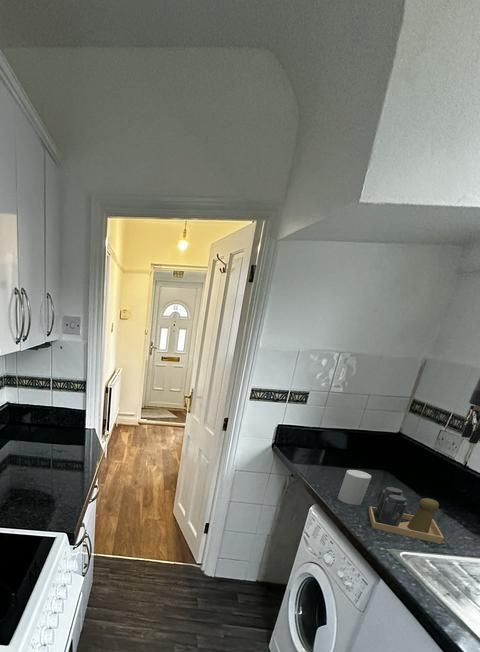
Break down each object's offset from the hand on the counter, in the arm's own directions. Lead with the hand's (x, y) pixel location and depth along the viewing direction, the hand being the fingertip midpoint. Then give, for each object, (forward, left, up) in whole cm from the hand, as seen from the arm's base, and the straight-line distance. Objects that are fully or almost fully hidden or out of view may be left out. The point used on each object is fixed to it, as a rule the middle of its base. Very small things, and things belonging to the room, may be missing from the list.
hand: (468, 440), depth 136 cm
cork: (+7, +13, -30) cm, 33 cm away
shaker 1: (+17, +9, -30) cm, 35 cm away
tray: (+12, +13, -30) cm, 35 cm away
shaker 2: (+17, +17, -30) cm, 38 cm away
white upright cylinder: (+27, -1, -30) cm, 40 cm away
